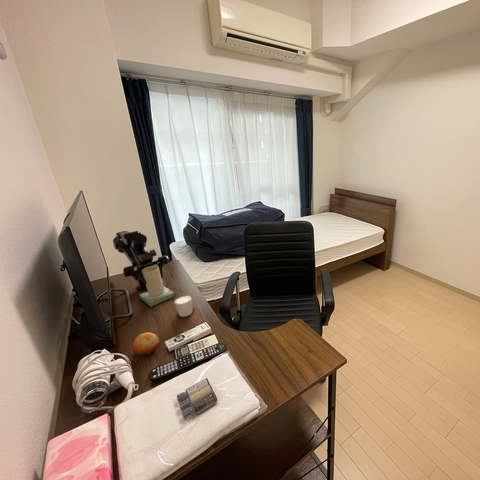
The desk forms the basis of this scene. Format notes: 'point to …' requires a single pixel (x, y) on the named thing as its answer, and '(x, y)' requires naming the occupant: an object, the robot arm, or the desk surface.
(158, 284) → the cup
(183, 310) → the white cylinder
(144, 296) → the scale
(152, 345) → the fruit
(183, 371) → the desk surface
